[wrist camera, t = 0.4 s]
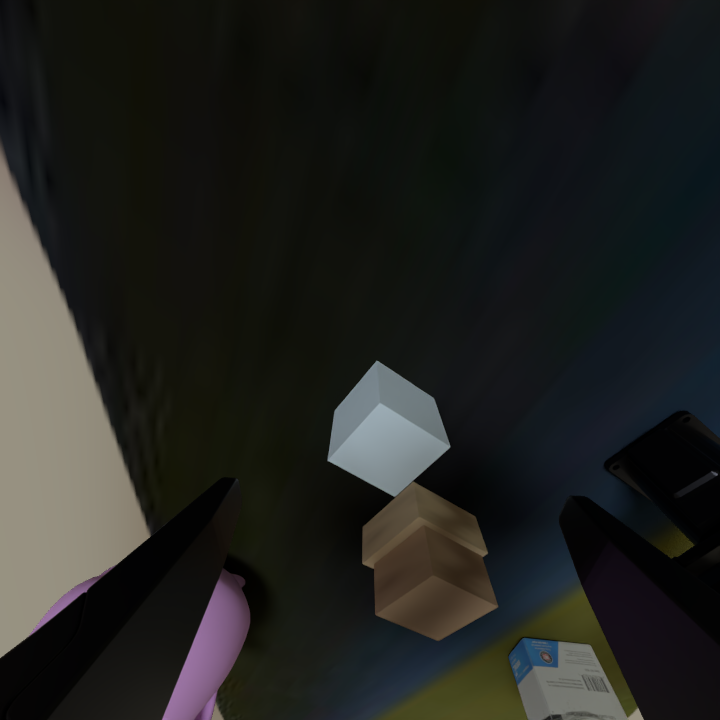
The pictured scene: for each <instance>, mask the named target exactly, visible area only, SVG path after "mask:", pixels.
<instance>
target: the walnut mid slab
mask: <svg viewBox="0 0 720 720" xmlns="http://www.w3.org/2000/svg"><path fill="white" fill-rule="evenodd" d="M374 585H375V615H377V616H379V617H382V618H384V619H387V620H389V621H391V622H394V623H396V624H399V625H401V626H403V627H406V628H408V629H411V630H413V631H415V632H418V633H420V634H423V635H425V636H427V637H430V638H432V639H435V640H437V641H439V640H441V639H443V638H444V637H446V636H448V635H450V634H452V633H453V632H455V631H457V630H459V629H460V628H462V627H464V626H466V625H467V624H469V623H471V622H473V621H474V620H476V619H478V618H480V617H481V616H483V615H485V614H487V613H488V612H490V611H492V610H494V609H495V608H497V607H498V604H497V601H496V598H495V595H494V592H493V589H492V586H491V583H490V580H489V577H488V574H487V571H486V567H485V564H484V561H483V558H482V556H481V555H479V554H477V553H475V552H474V551H472V550H470V549H468V548H466V547H464V546H462V545H460V544H459V543H457V542H455V541H453V540H451V539H449V538H447V537H445V536H444V535H442V534H440V533H438V532H436V531H434V530H432V529H430V528H429V527H427V526H425V525H423V526H422V527H421V528H420V529H418V530H417V531H416V532H414V533H413V534H412V535H411V536H409V537H408V538H407V539H406V540H404V541H403V542H402V543H400V544H399V545H398V546H397V547H395V548H394V549H393V550H391V551H390V552H389V553H388V554H386V555H385V556H384V557H383V558H381V559H380V560H379V561H377V562H376V563H375V564H374Z"/></svg>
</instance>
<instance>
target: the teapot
mask: <svg viewBox="0 0 720 720" xmlns="http://www.w3.org/2000/svg"><path fill="white" fill-rule="evenodd" d="M115 566H116V565H115ZM115 566H113V567H115ZM113 567H112V568H113ZM112 568H109V569H108V570H106V571H104V572H103V573H102V574H101V575H100V576H97V577H93V578H91V579H89V580H87V581H85V582H83V583H81V584H79V585H77V586H76V587H74V588H73V589H71V590H70V591H69V592H68V593H66V594H65V595H64V596H62V597H61V598H60V599H59V600H58V601H57V602H56V603H55V604H54V605H53V606H52V607H51V609H50V610H49V611H48V612H47V613H46V615H45V616H44V617H43V618H42V620H41V621H40V622H39V623H38V625H37V626H36V627H35V629H34V630H33V631H32V633H31V634H33V633H34V632H35V631H36V630H38V629H39V628H40V627H41V626H43V625H44V624H45V623H46V622H48V621H49V620H50V619H51V618H53V617H54V616H55V615H56V614H58V613H59V612H60V611H61V610H63V609H64V608H65V607H66V606H67V605H69V604H70V603H71V602H72V601H73V600H75V599H76V598H77V597H78V596H79V595H81V594H82V593H83V592H87V590H88V588H89V587H91V586H92V585H93V584H94V583H95V582H97V581H98V580H99V579H100V578H101V577H103V576H104V575H105V574H106V573H107V572H109V571H110V570H111V569H112ZM244 585H245V580H244V578H242V577H241V576H239V575H236V574H230V573H229V572H228V571H227V570H225V569H224V568H223V569H222V572H221V574H220V577H219V580H218V582H217V585H216V587H215V589H214V592H213V594H212V597H211V599H210V602H209V604H208V607H207V609H206V612H205V614H204V617H203V619H202V622H201V624H200V627H199V629H198V632H197V634H196V637H195V639H194V642H193V644H192V647H191V649H190V652H189V654H188V657H187V659H186V662H185V664H184V667H183V669H182V671H181V674H180V676H179V679H178V681H177V684H176V686H175V689H174V691H173V694H172V696H171V699H170V701H169V704H168V706H167V709H166V711H165V714H164V716H163V719H162V720H211V718H212V715H213V710H214V706H215V701H216V695H217V690H218V688H219V687H220V686H221V684H222V683H223V681H224V680H225V678H226V677H227V675H228V673H229V672H230V670H231V668H232V666H233V665H234V663H235V661H236V659H237V657H238V655H239V653H240V651H241V648H242V646H243V644H244V641H245V639H246V636H247V633H248V629H249V626H250V610H249V606H248V603H247V600H246V597H245V595H244V593H243V591H242V587H243V586H244ZM31 634H30V635H31ZM30 635H29V636H30Z"/></svg>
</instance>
